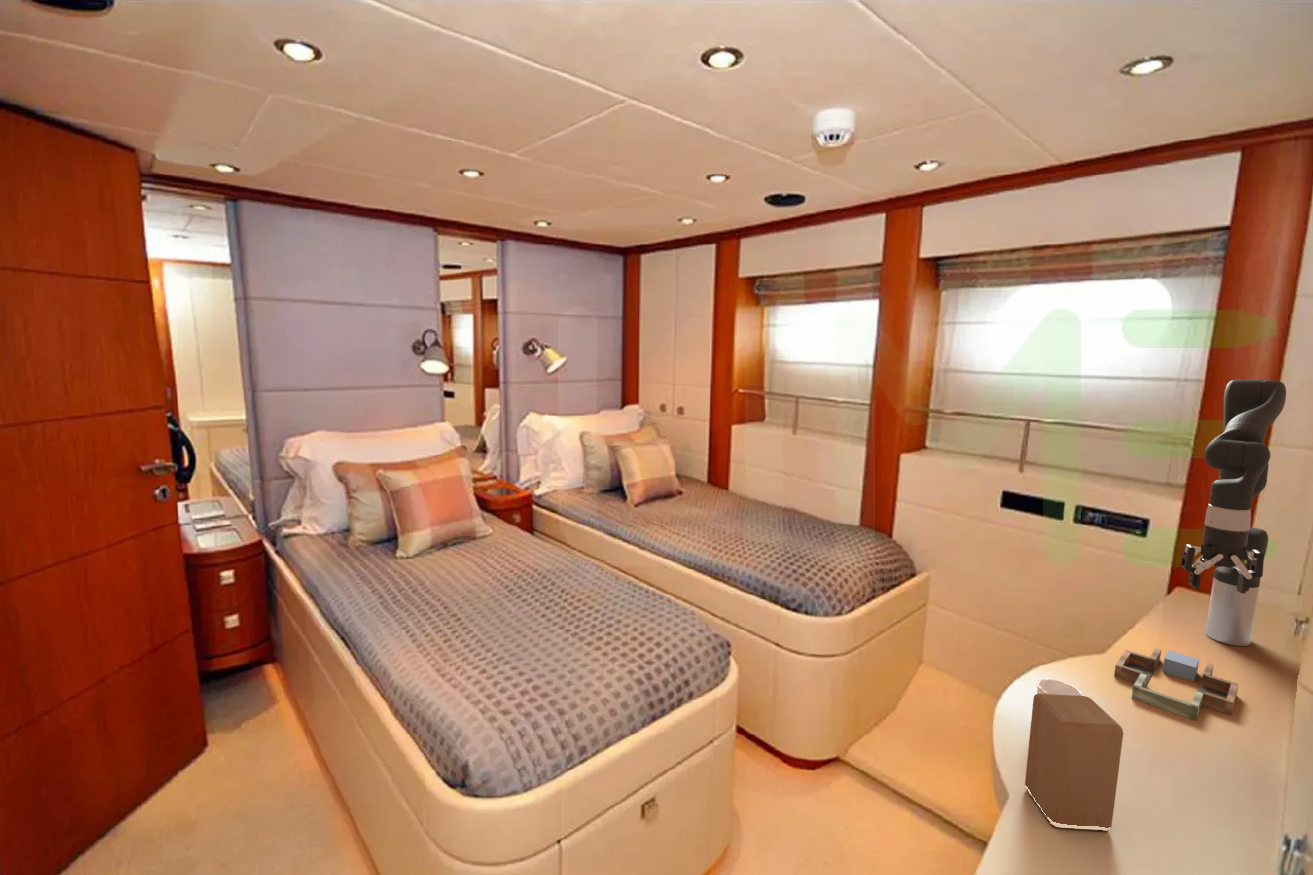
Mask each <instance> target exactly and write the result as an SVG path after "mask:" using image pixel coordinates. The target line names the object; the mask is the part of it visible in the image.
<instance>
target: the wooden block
mask: <svg viewBox="0 0 1313 875" xmlns="http://www.w3.org/2000/svg"><path fill="white" fill-rule="evenodd" d="M1031 710H1032V711H1031V720H1030V731H1029V738H1028V739H1029V741H1028V750H1027V760H1026V768H1025V769H1026V771H1025V782H1024V786H1025V785H1026V786H1027V787H1028V789H1029V790H1030V792H1031V794H1032V796H1033V797H1034V798H1035V800H1036V802H1037V803H1038V804H1039V805H1040V807H1041V808H1042V810H1043V812H1044V813H1045V814H1046V816H1047V817H1049V818H1050V819H1051V820H1052V821H1053V822H1056V823H1060V824H1067V825H1077V826H1099V827H1105V828H1109V827H1111V828H1113V826H1112V825H1113V817H1114V812H1115V810H1114V808H1115V801H1116V794H1117V786H1118V777H1119V771H1120V764H1121V763H1120V761H1121V755H1122V746H1123V741H1124V740H1123V739H1124V738H1123V737H1124V730H1123V727H1122V726H1121V725H1120V724H1119V723H1118V722H1117V721H1116V720H1114V718H1113V717H1112V716H1111V715H1109V714H1108V713H1107V712H1106V711H1105V710H1104V709H1103V708H1102V707H1101V706H1100V705H1099V704H1098V703H1096V702H1095V701H1094V700H1093V699H1092V698H1090V697H1089V696H1086V695H1082V696H1075V695H1055V694H1037V693H1036V694H1035V693H1034V695H1033V700H1032V709H1031Z"/></svg>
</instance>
